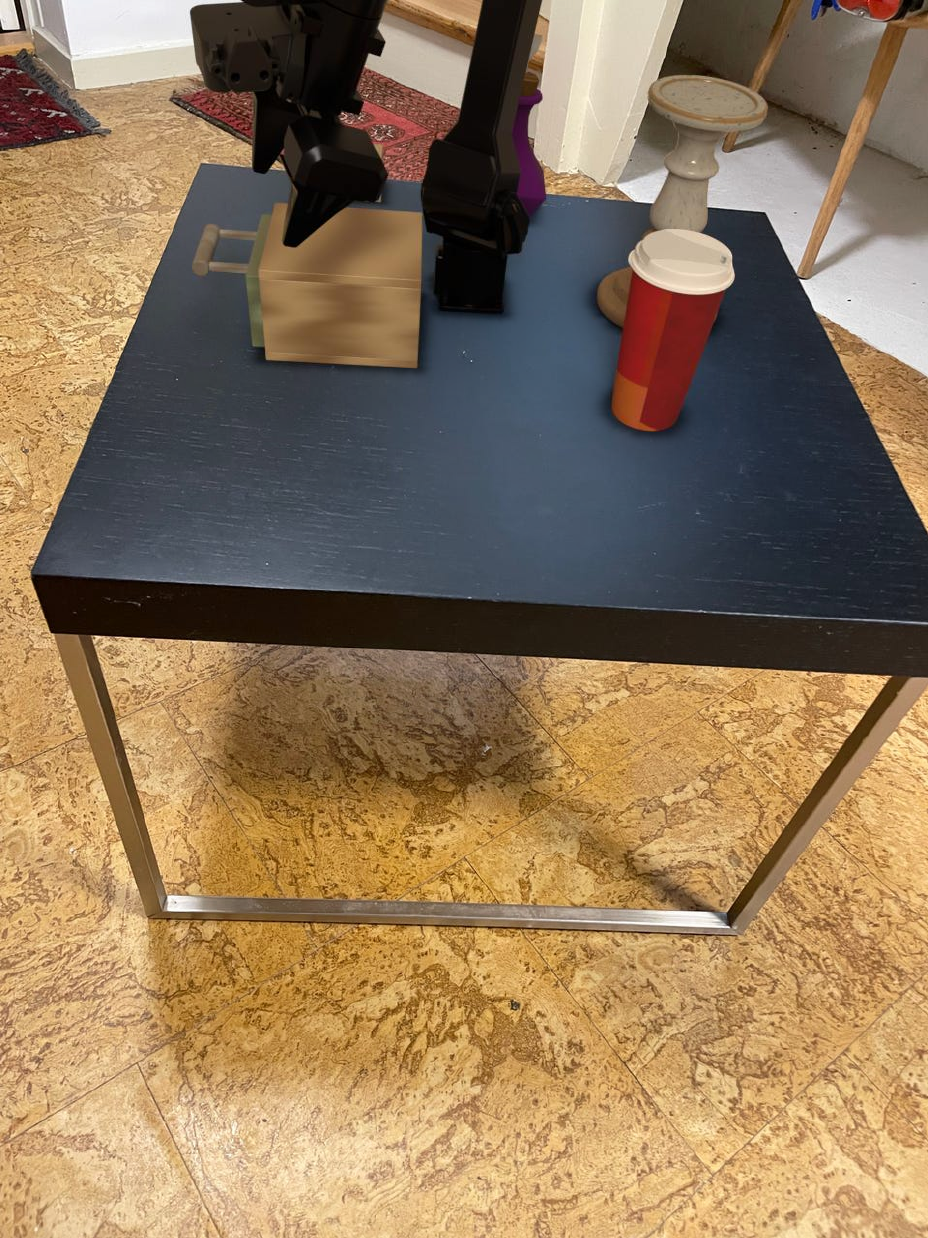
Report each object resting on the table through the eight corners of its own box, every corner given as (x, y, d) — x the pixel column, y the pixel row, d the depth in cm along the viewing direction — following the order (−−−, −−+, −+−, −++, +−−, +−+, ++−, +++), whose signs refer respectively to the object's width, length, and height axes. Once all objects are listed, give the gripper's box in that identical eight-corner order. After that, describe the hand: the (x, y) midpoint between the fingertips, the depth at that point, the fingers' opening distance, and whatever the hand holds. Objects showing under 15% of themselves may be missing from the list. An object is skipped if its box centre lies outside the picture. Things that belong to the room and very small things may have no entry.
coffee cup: (697, 398, 87) (746, 239, 76) (681, 449, 81) (731, 286, 70) (608, 375, 88) (643, 216, 77) (586, 423, 83) (621, 260, 72)
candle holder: (737, 310, 98) (804, 100, 83) (675, 355, 91) (737, 136, 76) (637, 265, 103) (684, 60, 88) (572, 305, 96) (610, 90, 81)
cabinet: (265, 359, 85) (258, 269, 79) (280, 288, 94) (274, 202, 87) (417, 368, 86) (421, 280, 80) (418, 297, 95) (422, 212, 88)
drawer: (196, 343, 85) (186, 271, 80) (216, 279, 92) (207, 210, 87) (392, 354, 86) (394, 284, 81) (395, 290, 93) (397, 222, 88)
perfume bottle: (542, 227, 107) (568, 50, 94) (476, 222, 107) (492, 43, 93) (539, 198, 112) (563, 25, 99) (476, 192, 112) (492, 19, 98)
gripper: (186, -118, 61) (142, 112, 72) (256, 32, 52) (193, 269, 63) (343, -59, 67) (280, 146, 78) (429, 85, 59) (345, 293, 69)
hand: (273, 207), depth 72 cm, fingers open, 9 cm apart
